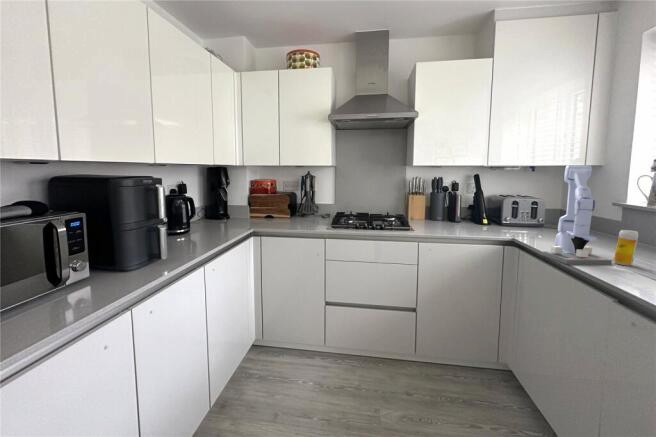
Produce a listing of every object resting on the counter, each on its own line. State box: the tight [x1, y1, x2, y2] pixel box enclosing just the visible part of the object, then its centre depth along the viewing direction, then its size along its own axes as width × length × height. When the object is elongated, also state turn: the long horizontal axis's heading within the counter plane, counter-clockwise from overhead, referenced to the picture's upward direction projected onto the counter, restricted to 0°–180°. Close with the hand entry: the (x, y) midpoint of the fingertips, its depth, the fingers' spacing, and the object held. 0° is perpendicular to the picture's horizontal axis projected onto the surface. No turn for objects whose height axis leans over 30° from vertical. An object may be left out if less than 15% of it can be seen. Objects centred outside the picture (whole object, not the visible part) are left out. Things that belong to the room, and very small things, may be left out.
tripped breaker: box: [576, 249, 589, 257], centre depth 140 cm, size 2×4×3 cm, turn 90°
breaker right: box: [583, 245, 593, 254], centre depth 146 cm, size 2×4×3 cm, turn 90°
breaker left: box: [550, 245, 563, 254], centre depth 146 cm, size 2×4×3 cm, turn 90°
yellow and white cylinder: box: [613, 229, 639, 266], centre depth 136 cm, size 6×6×15 cm
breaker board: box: [542, 250, 613, 266], centre depth 143 cm, size 15×20×2 cm
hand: (578, 253), depth 142 cm, fingers closed
